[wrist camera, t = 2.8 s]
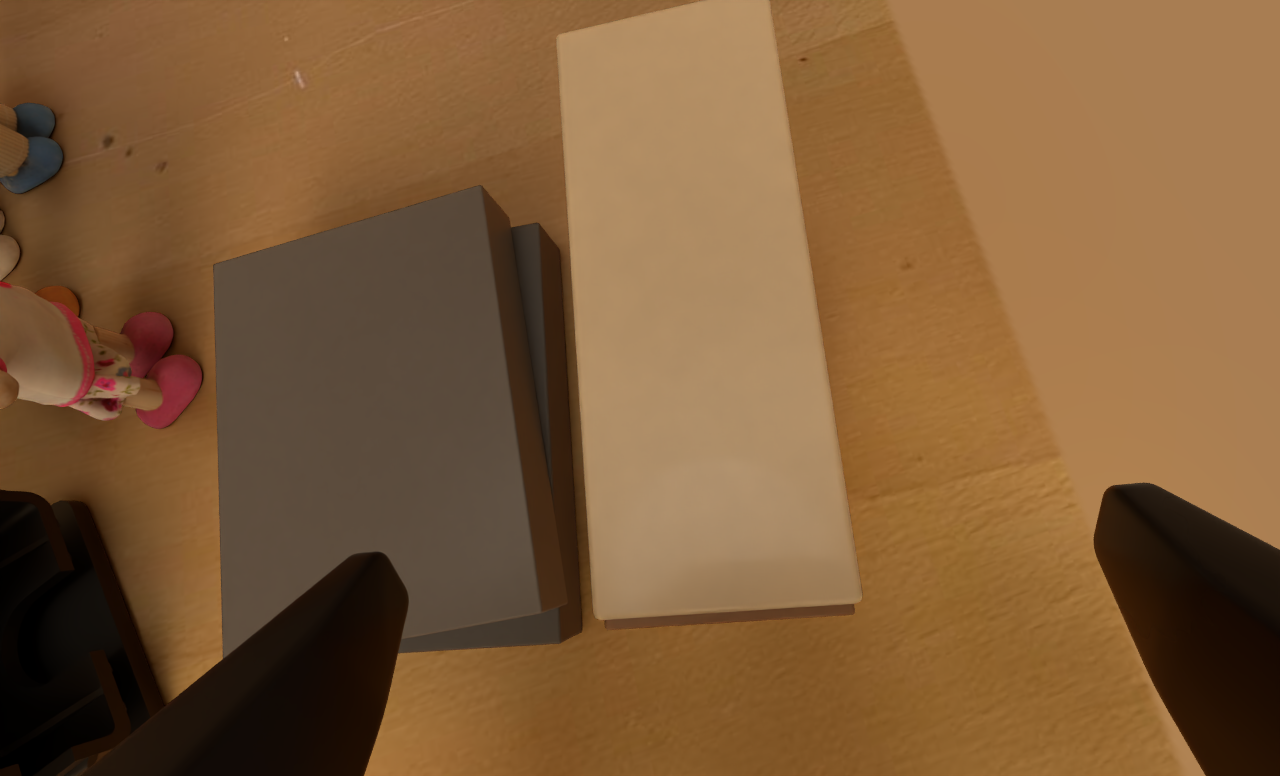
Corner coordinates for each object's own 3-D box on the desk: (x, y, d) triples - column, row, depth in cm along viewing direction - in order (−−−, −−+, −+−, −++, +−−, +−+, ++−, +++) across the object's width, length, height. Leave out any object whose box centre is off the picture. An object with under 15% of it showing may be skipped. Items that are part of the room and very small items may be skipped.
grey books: (591, 631, 19) (544, 658, 15) (293, 650, 20) (182, 678, 16) (567, 239, 21) (521, 175, 18) (307, 284, 23) (214, 236, 19)
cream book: (815, 566, 18) (867, 617, 8) (692, 576, 18) (591, 634, 8) (772, 258, 20) (767, -19, 10) (663, 276, 20) (554, 31, 10)
